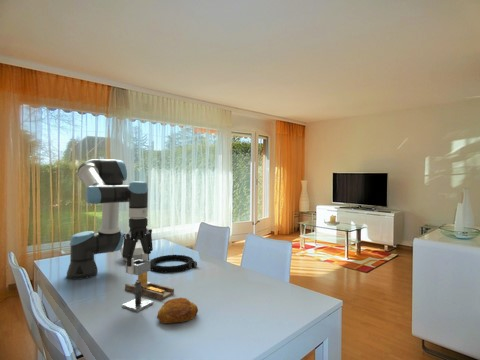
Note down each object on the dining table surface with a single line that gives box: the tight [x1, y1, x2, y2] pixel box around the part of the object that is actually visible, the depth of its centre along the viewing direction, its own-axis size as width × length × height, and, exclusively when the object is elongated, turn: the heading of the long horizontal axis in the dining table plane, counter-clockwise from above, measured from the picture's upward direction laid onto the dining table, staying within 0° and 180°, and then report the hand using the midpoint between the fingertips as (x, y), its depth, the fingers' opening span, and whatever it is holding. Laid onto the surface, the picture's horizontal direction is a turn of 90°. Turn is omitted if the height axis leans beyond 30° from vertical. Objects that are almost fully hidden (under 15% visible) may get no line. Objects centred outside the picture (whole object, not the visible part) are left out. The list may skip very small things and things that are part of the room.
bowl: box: [119, 241, 144, 262], centre depth 194 cm, size 18×18×9 cm
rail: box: [124, 279, 175, 301], centre depth 141 cm, size 24×8×2 cm, turn 61°
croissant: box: [157, 297, 199, 324], centre depth 117 cm, size 14×16×8 cm
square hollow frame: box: [125, 259, 151, 276], centre depth 125 cm, size 7×7×4 cm
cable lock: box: [149, 254, 198, 273], centre depth 180 cm, size 28×4×30 cm
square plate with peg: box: [121, 280, 154, 313], centre depth 126 cm, size 9×9×10 cm
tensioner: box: [133, 272, 164, 293], centre depth 140 cm, size 16×5×9 cm, turn 61°
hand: (138, 271), depth 125 cm, fingers closed on square hollow frame, 7 cm apart
